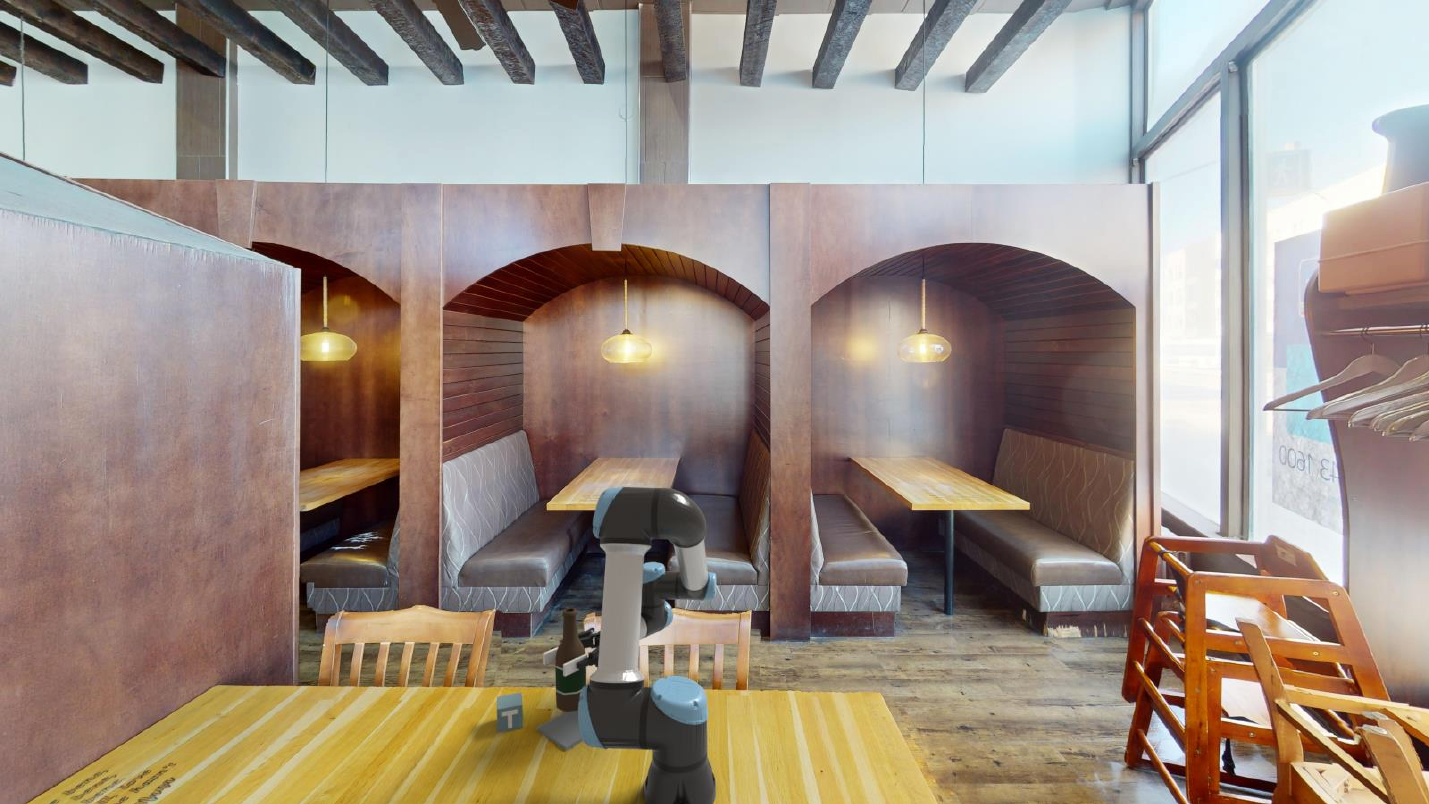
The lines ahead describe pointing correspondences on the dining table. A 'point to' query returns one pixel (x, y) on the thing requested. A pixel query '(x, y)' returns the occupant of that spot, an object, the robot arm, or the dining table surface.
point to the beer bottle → (567, 651)
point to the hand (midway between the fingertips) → (553, 664)
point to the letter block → (509, 712)
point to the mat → (563, 730)
